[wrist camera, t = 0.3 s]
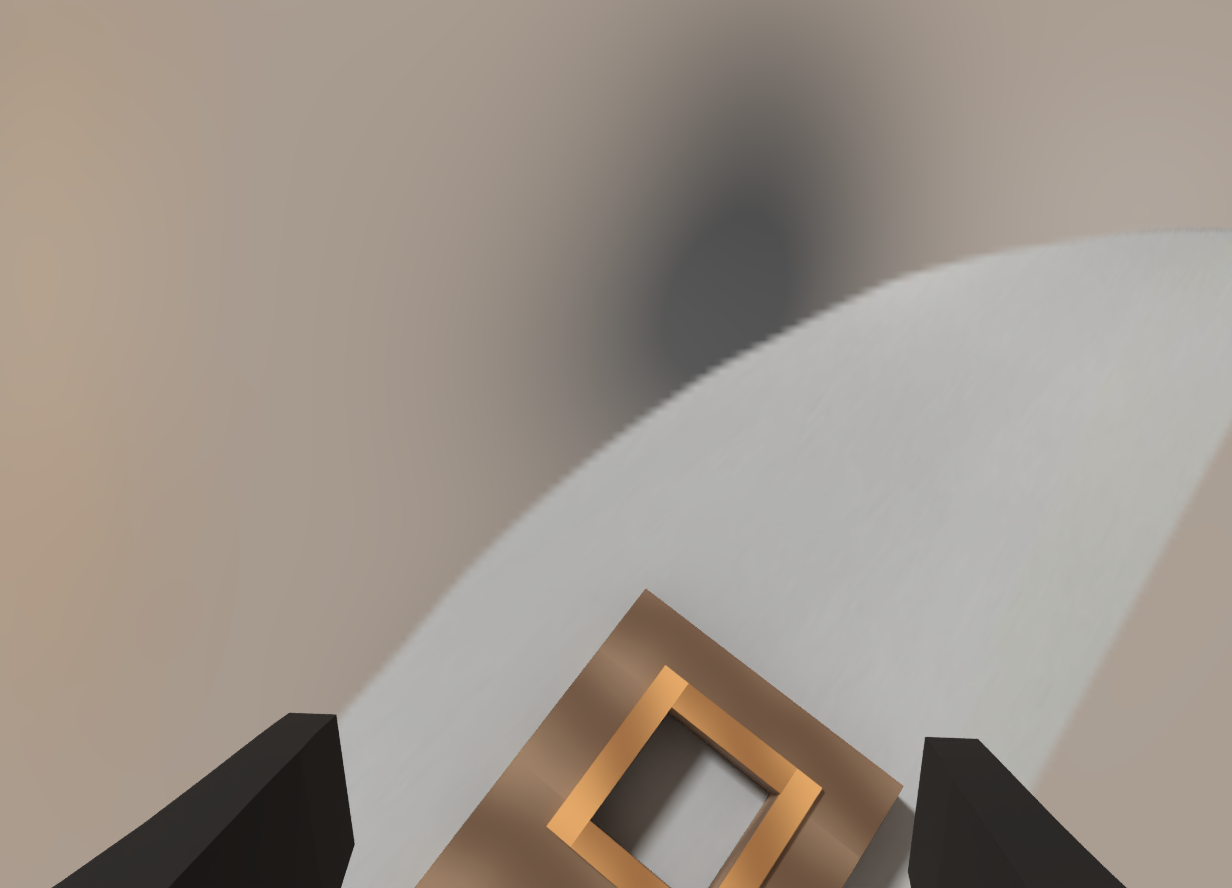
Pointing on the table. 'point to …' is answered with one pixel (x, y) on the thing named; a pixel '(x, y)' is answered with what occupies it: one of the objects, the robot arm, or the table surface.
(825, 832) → the wooden peg hole board
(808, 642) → the table surface
